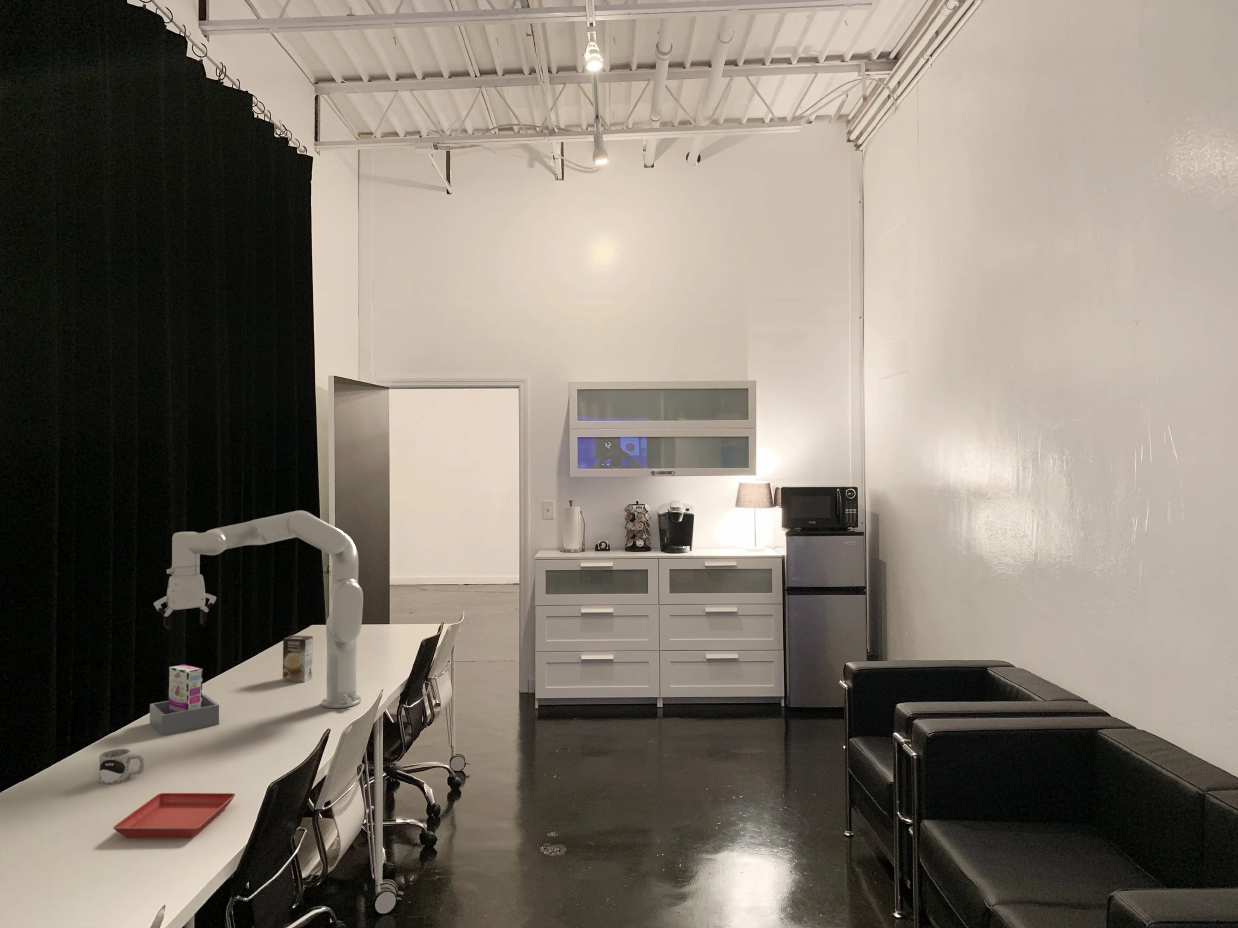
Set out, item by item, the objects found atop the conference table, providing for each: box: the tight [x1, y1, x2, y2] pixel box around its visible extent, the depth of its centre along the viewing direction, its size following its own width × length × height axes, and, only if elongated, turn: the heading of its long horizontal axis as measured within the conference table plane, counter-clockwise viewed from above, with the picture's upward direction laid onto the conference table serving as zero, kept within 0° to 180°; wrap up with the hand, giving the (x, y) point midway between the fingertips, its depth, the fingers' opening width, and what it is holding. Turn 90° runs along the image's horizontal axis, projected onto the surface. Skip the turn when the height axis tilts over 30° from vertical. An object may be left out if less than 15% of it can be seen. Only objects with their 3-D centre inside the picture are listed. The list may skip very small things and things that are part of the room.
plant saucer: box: [112, 792, 236, 839], centre depth 173 cm, size 18×18×3 cm
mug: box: [98, 748, 145, 785], centre depth 198 cm, size 10×7×7 cm
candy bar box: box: [168, 664, 204, 714], centre depth 241 cm, size 11×5×16 cm, turn 57°
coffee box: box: [282, 634, 314, 683], centre depth 292 cm, size 9×6×16 cm
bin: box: [149, 694, 220, 737], centre depth 241 cm, size 16×16×6 cm
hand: (185, 626), depth 241 cm, fingers open, 9 cm apart
